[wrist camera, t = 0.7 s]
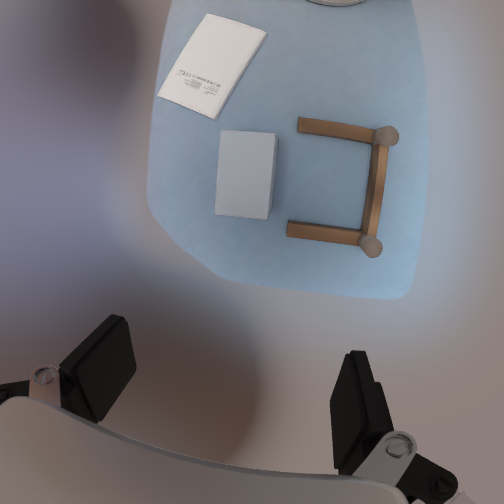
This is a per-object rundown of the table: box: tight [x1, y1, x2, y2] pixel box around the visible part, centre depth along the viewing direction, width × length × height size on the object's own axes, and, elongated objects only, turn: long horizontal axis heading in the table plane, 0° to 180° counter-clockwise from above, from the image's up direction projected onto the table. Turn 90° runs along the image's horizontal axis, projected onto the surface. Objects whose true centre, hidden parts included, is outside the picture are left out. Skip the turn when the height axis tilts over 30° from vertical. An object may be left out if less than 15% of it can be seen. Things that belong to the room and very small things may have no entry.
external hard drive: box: [157, 14, 267, 120], centre depth 27 cm, size 2×8×12 cm
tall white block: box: [215, 130, 278, 220], centre depth 28 cm, size 8×5×6 cm, turn 175°
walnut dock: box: [287, 117, 399, 258], centre depth 27 cm, size 14×10×4 cm
